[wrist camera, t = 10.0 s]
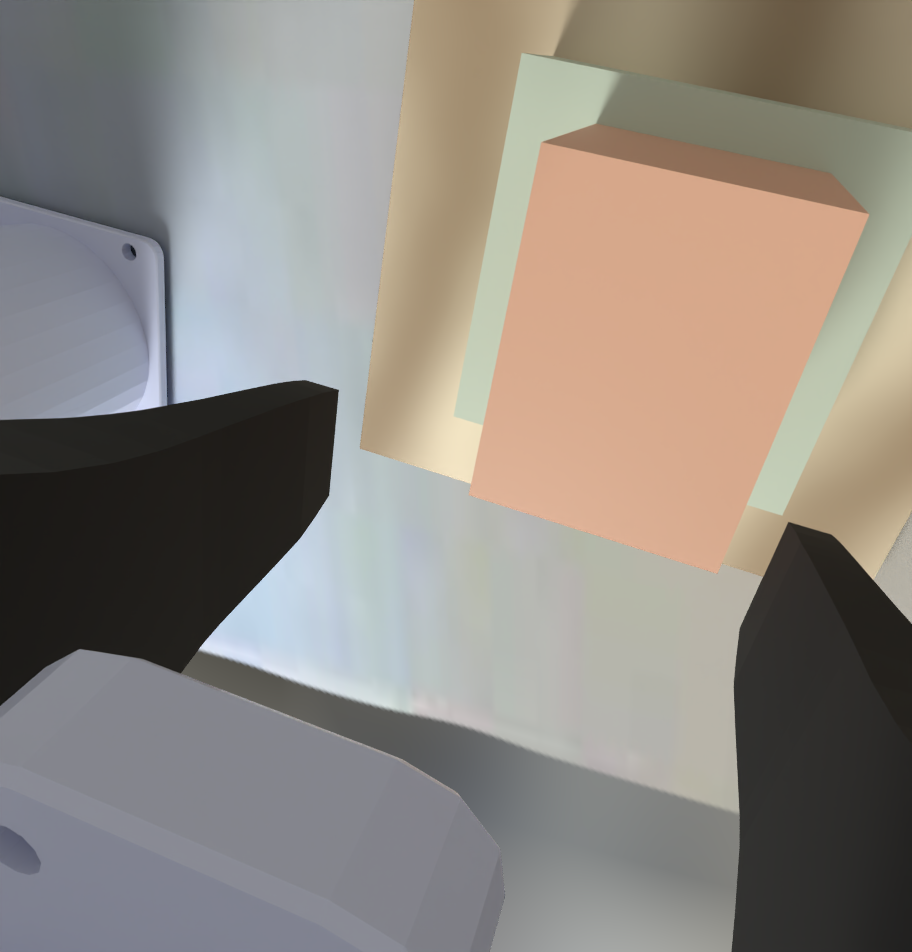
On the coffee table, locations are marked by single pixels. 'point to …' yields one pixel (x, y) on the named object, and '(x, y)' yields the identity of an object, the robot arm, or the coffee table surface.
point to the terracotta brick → (657, 335)
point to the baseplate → (474, 186)
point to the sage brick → (729, 129)
